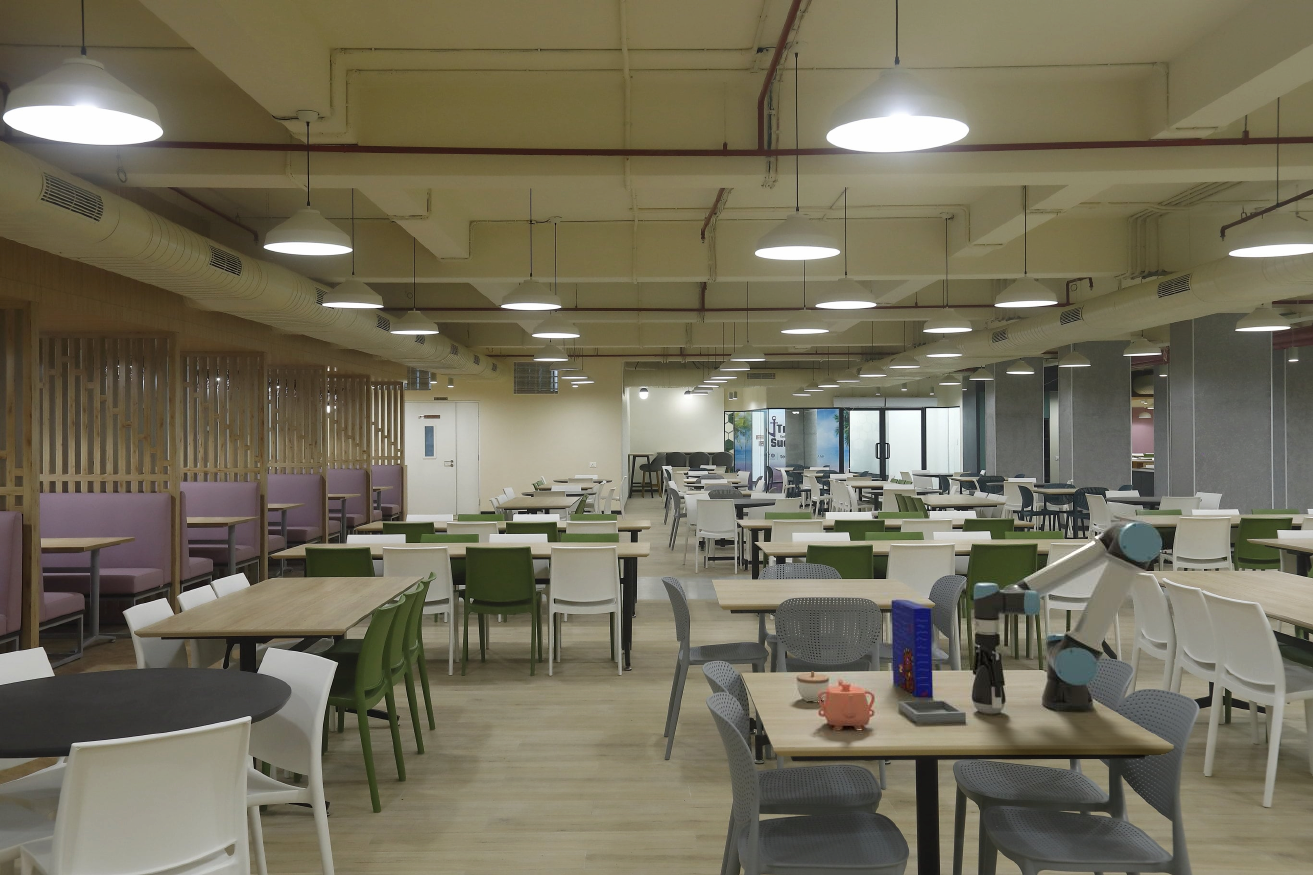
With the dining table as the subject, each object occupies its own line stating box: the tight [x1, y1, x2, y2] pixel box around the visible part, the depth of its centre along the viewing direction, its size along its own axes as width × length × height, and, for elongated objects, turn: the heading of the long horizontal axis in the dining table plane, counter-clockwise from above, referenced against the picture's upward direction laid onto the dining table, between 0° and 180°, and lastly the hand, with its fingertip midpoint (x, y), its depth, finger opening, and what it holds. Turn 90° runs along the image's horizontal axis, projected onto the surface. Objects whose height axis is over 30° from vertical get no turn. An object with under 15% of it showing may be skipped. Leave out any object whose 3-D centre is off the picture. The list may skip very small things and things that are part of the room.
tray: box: [897, 699, 967, 725], centre depth 280 cm, size 15×15×3 cm
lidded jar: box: [796, 671, 830, 703], centre depth 302 cm, size 11×11×9 cm
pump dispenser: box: [971, 664, 1007, 715], centre depth 284 cm, size 10×10×15 cm
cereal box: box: [891, 599, 934, 698], centre depth 316 cm, size 22×6×30 cm, turn 5°
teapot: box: [817, 678, 876, 730], centre depth 271 cm, size 15×17×13 cm
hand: (988, 703), depth 284 cm, fingers closed on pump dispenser, 10 cm apart
